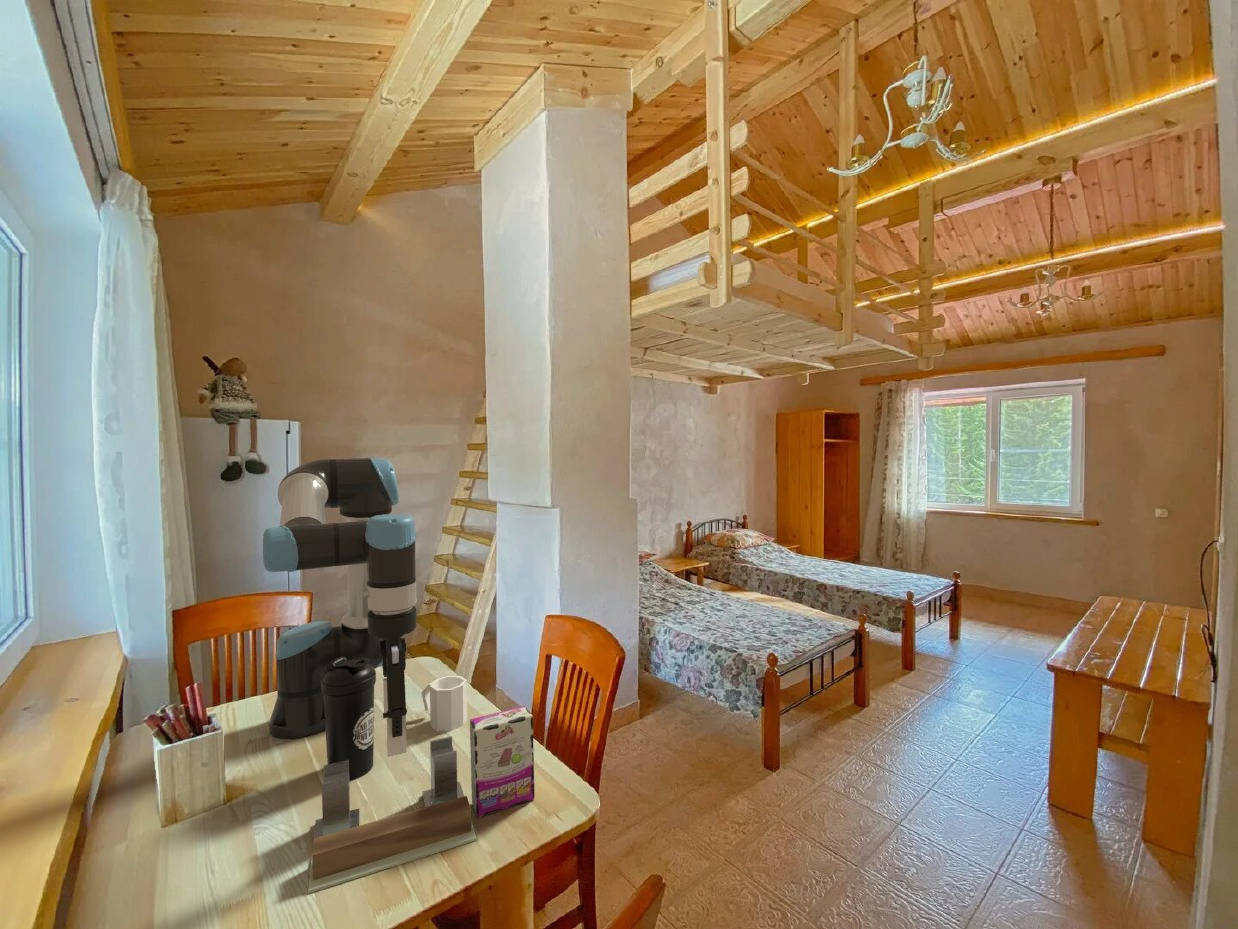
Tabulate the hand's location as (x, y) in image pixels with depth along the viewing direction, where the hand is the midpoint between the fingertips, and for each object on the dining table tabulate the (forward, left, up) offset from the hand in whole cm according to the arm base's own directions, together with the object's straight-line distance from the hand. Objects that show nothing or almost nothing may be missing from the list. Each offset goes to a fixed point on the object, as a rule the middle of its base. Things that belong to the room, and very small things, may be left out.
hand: (394, 732), depth 91 cm
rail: (+1, 0, -19) cm, 19 cm away
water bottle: (-27, -7, -19) cm, 34 cm away
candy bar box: (-3, +19, -19) cm, 27 cm away
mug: (-39, +13, -19) cm, 45 cm away
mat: (+1, 0, -19) cm, 19 cm away
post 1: (-8, -9, -19) cm, 23 cm away
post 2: (-8, +9, -19) cm, 23 cm away
